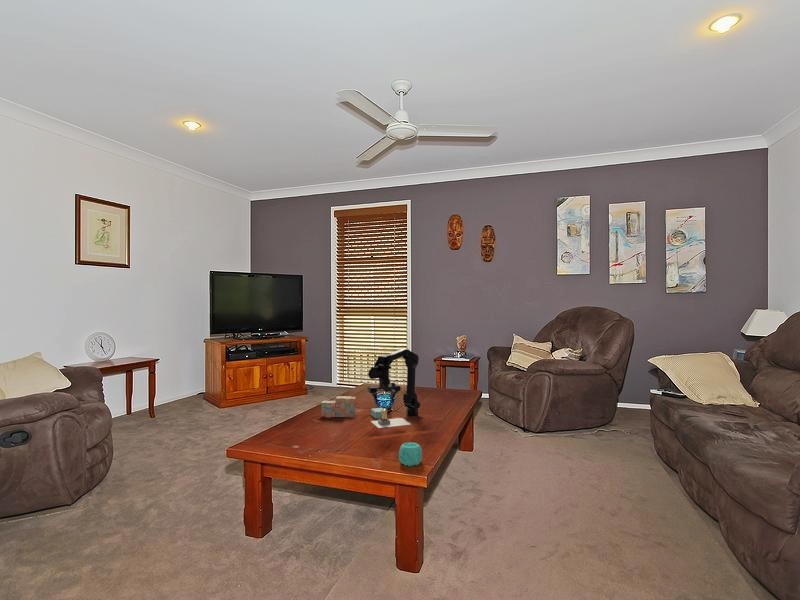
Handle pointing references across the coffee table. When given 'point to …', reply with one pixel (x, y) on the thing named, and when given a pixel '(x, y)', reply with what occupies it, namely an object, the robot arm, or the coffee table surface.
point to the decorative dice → (410, 454)
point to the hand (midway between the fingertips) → (384, 403)
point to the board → (390, 422)
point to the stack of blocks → (339, 407)
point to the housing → (376, 412)
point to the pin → (384, 414)
